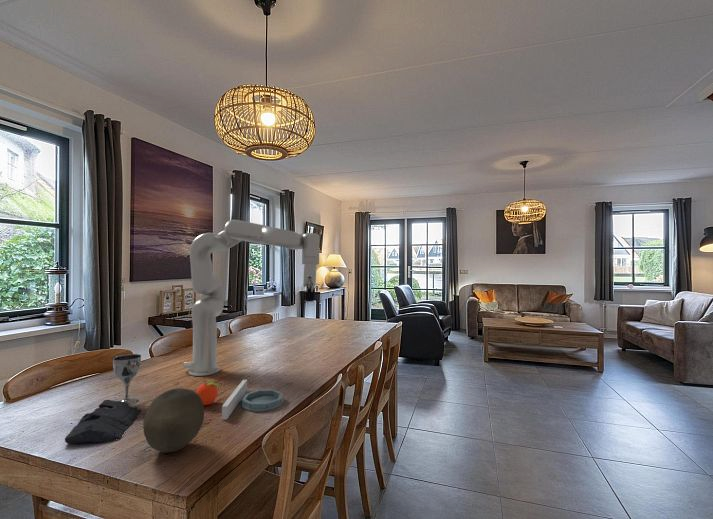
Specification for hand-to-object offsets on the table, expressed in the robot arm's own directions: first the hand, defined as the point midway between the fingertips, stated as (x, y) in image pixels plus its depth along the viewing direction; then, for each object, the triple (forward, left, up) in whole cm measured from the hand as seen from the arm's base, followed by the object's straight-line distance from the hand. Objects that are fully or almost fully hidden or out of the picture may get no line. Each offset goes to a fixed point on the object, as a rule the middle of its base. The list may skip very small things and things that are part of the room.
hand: (310, 300), depth 154 cm
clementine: (-31, -35, -31) cm, 56 cm away
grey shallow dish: (-13, -35, -31) cm, 49 cm away
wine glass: (-59, -32, -31) cm, 74 cm away
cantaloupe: (-29, -64, -31) cm, 77 cm away
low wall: (-22, -35, -31) cm, 52 cm away
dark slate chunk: (-55, -50, -32) cm, 81 cm away
